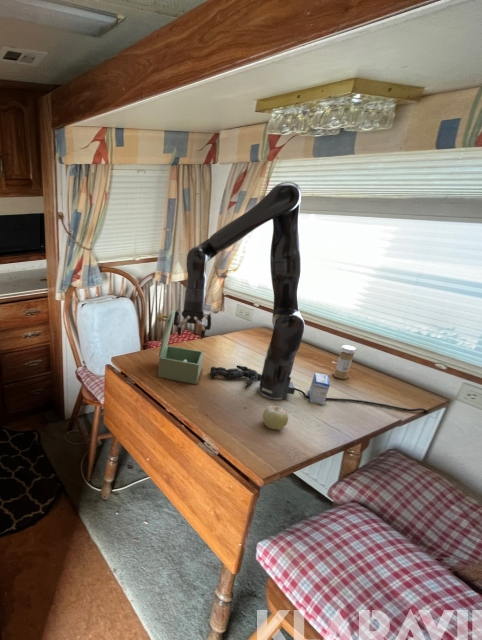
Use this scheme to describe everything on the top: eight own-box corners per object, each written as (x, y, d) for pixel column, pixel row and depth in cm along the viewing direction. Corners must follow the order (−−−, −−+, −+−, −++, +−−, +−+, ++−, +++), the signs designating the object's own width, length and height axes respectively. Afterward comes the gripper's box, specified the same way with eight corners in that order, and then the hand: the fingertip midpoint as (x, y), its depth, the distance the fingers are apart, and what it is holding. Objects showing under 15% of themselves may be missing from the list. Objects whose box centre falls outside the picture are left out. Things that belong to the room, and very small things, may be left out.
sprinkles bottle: (345, 375, 149) (355, 346, 143) (347, 380, 145) (356, 350, 140) (332, 373, 151) (341, 344, 145) (333, 377, 147) (342, 348, 142)
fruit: (288, 435, 114) (293, 414, 111) (262, 431, 116) (267, 410, 112) (282, 421, 120) (287, 401, 117) (258, 417, 122) (263, 397, 119)
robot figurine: (213, 388, 141) (268, 391, 137) (214, 378, 140) (270, 381, 136) (208, 367, 157) (257, 370, 153) (209, 358, 156) (258, 361, 152)
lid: (175, 309, 150) (163, 307, 151) (167, 320, 138) (155, 317, 140) (167, 344, 157) (156, 341, 158) (160, 357, 145) (148, 353, 147)
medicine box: (308, 391, 137) (314, 372, 134) (322, 394, 135) (328, 374, 132) (309, 402, 131) (315, 381, 127) (324, 405, 129) (330, 384, 125)
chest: (201, 369, 154) (203, 351, 151) (196, 384, 143) (198, 365, 139) (165, 363, 160) (166, 345, 157) (157, 376, 149) (159, 357, 146)
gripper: (174, 299, 138) (171, 337, 144) (212, 302, 132) (208, 342, 139) (178, 294, 144) (175, 331, 151) (215, 297, 139) (210, 336, 145)
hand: (190, 336), depth 145 cm, fingers open, 8 cm apart
